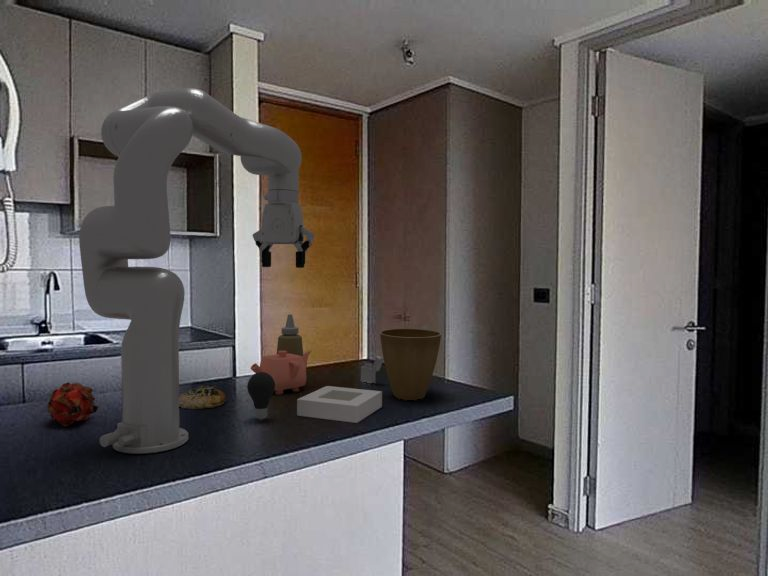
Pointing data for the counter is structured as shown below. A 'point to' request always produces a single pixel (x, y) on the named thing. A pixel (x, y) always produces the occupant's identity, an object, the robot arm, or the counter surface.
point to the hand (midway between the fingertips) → (283, 267)
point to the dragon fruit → (71, 403)
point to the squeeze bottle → (290, 339)
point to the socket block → (339, 404)
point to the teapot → (284, 370)
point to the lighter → (371, 370)
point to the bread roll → (202, 398)
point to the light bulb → (261, 393)
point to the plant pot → (410, 360)
